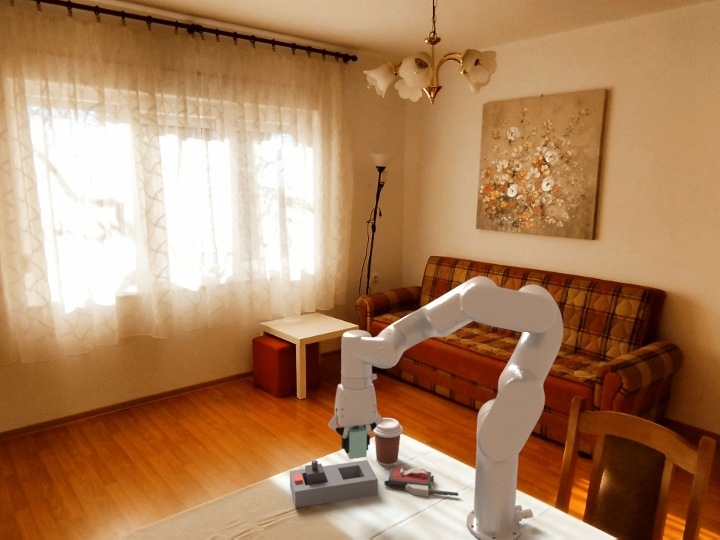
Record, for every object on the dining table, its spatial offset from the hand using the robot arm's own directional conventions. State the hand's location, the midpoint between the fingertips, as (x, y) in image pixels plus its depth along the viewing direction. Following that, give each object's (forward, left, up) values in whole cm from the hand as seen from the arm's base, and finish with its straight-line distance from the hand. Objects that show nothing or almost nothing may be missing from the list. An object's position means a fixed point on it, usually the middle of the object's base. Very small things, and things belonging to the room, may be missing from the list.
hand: (355, 448), depth 129 cm
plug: (0, 0, -1) cm, 1 cm away
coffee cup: (-15, -19, -16) cm, 29 cm away
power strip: (+4, -8, -16) cm, 18 cm away
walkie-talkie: (-20, -3, -16) cm, 26 cm away
